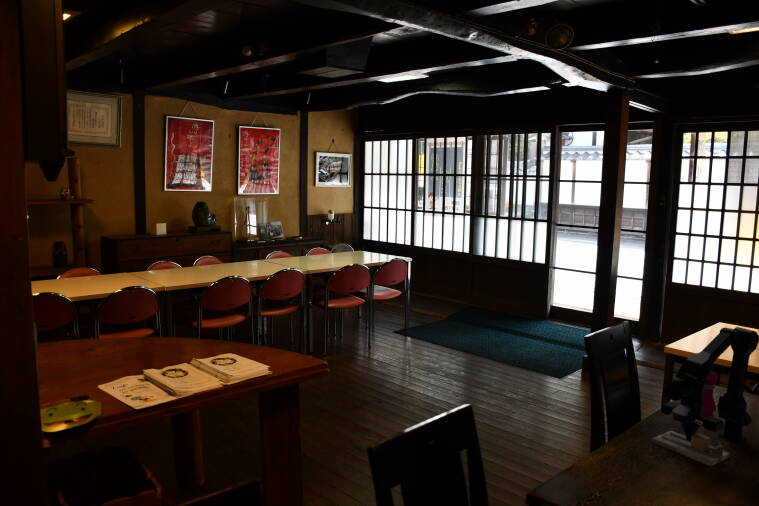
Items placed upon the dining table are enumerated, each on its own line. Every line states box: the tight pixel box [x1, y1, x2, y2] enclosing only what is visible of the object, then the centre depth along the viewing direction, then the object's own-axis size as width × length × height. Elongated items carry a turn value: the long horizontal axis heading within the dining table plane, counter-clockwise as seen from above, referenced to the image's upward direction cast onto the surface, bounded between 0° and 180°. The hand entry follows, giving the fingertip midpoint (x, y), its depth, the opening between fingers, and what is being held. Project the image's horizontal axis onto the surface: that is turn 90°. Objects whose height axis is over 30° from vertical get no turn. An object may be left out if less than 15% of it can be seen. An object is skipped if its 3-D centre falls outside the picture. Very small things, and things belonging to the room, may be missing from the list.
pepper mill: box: [701, 370, 718, 418], centre depth 226 cm, size 7×7×20 cm
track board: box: [651, 430, 731, 467], centre depth 199 cm, size 12×20×4 cm, turn 34°
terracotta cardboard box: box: [691, 432, 711, 451], centre depth 196 cm, size 4×4×4 cm
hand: (688, 440), depth 199 cm, fingers closed
